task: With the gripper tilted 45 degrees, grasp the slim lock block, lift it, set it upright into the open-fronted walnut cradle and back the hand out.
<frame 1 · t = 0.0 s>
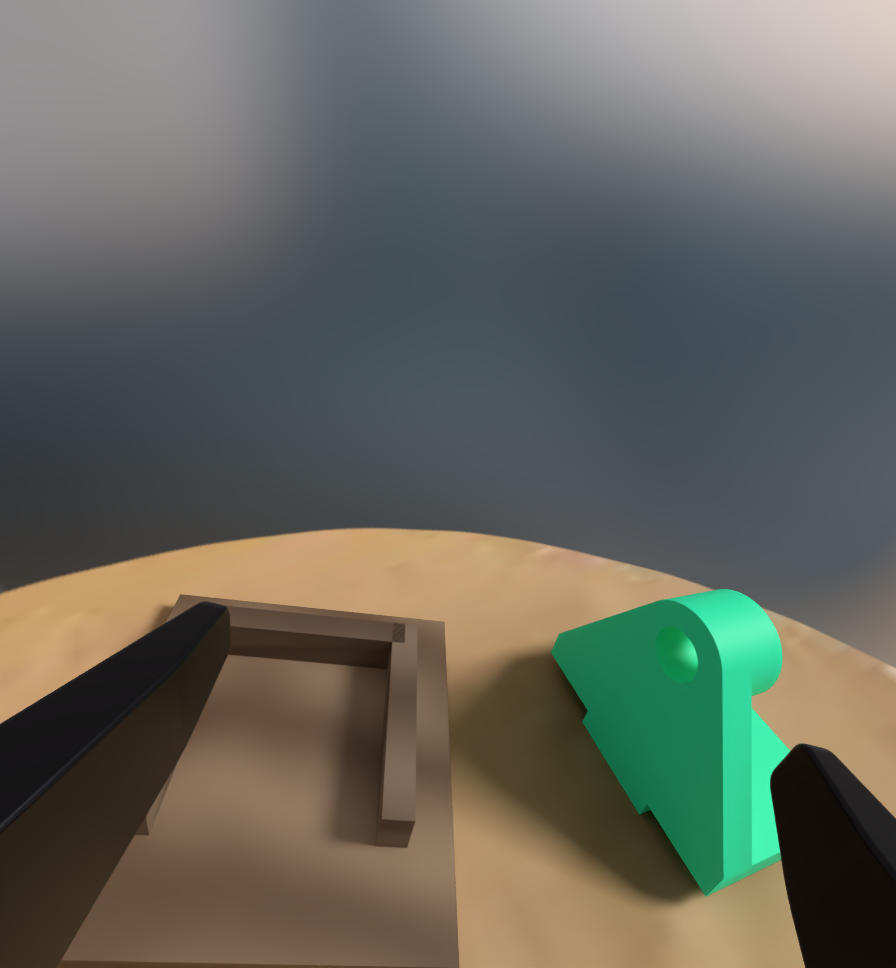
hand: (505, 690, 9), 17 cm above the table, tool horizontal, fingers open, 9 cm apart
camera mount: (665, 749, 28), on the table
cradle: (287, 751, 24), on the table
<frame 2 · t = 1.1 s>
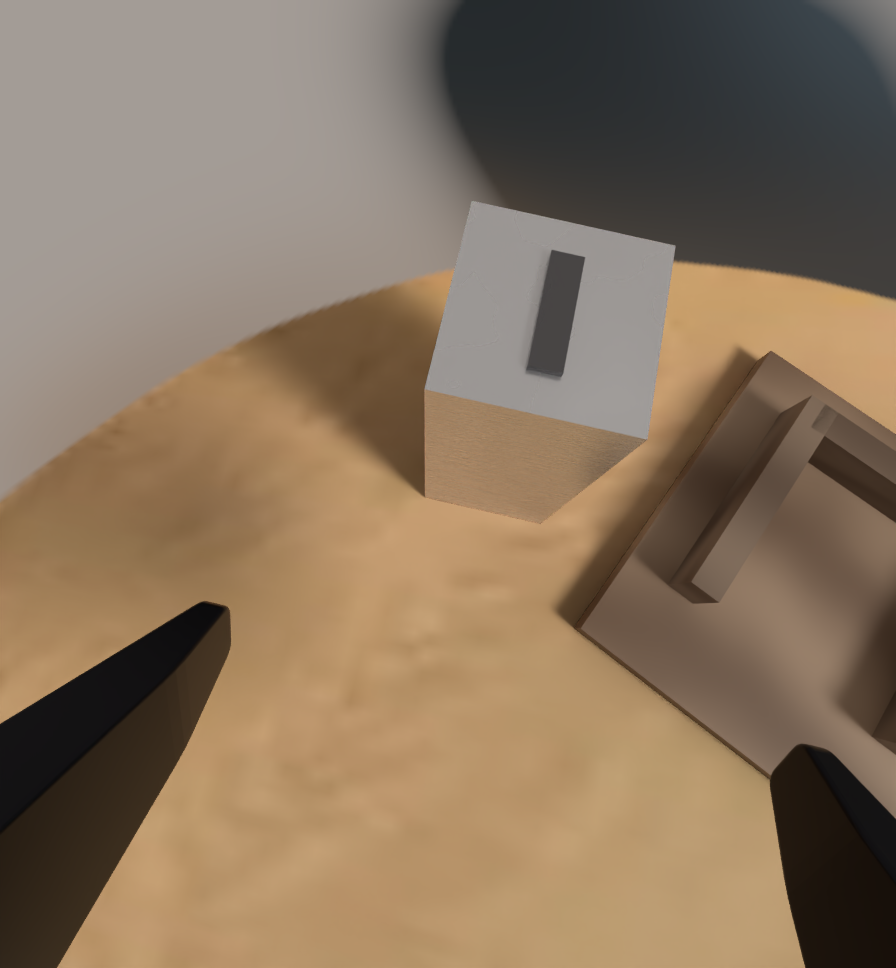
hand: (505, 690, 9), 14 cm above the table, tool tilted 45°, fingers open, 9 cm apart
lock block: (494, 455, 24), on the table
cradle: (811, 586, 23), on the table
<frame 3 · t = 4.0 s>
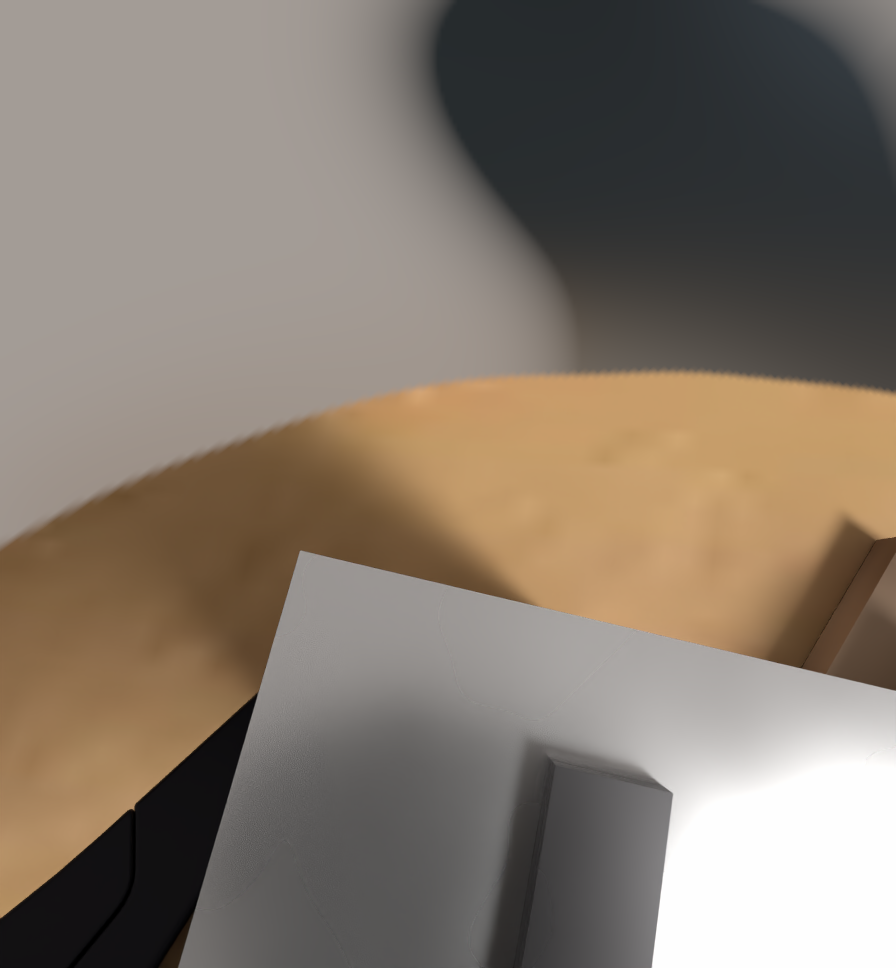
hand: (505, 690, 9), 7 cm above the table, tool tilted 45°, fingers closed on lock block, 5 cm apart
lock block: (460, 708, 15), on the table, touching gripper
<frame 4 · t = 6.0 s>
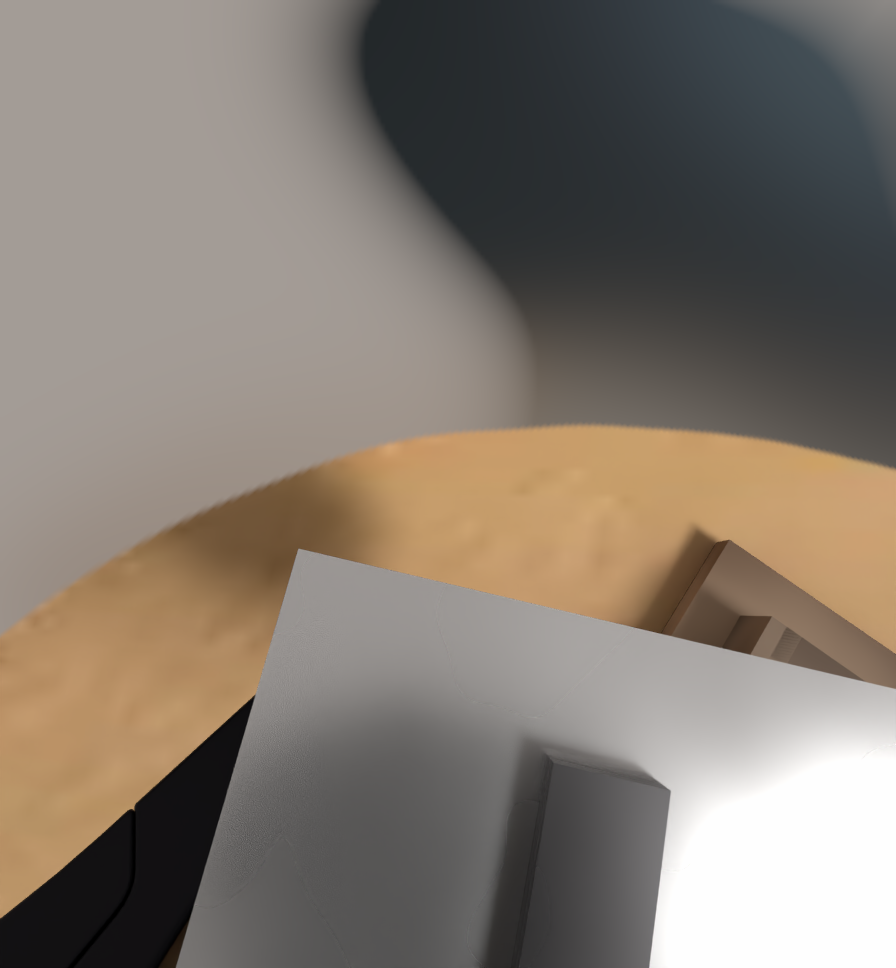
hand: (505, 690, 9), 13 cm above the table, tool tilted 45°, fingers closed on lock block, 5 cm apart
lock block: (459, 708, 15), point 7 cm above the table, touching gripper
cradle: (777, 814, 21), on the table
when the fingers open (9 cm above the table, at t = 8.3 s): lock block drops 1 cm, resting on cradle.
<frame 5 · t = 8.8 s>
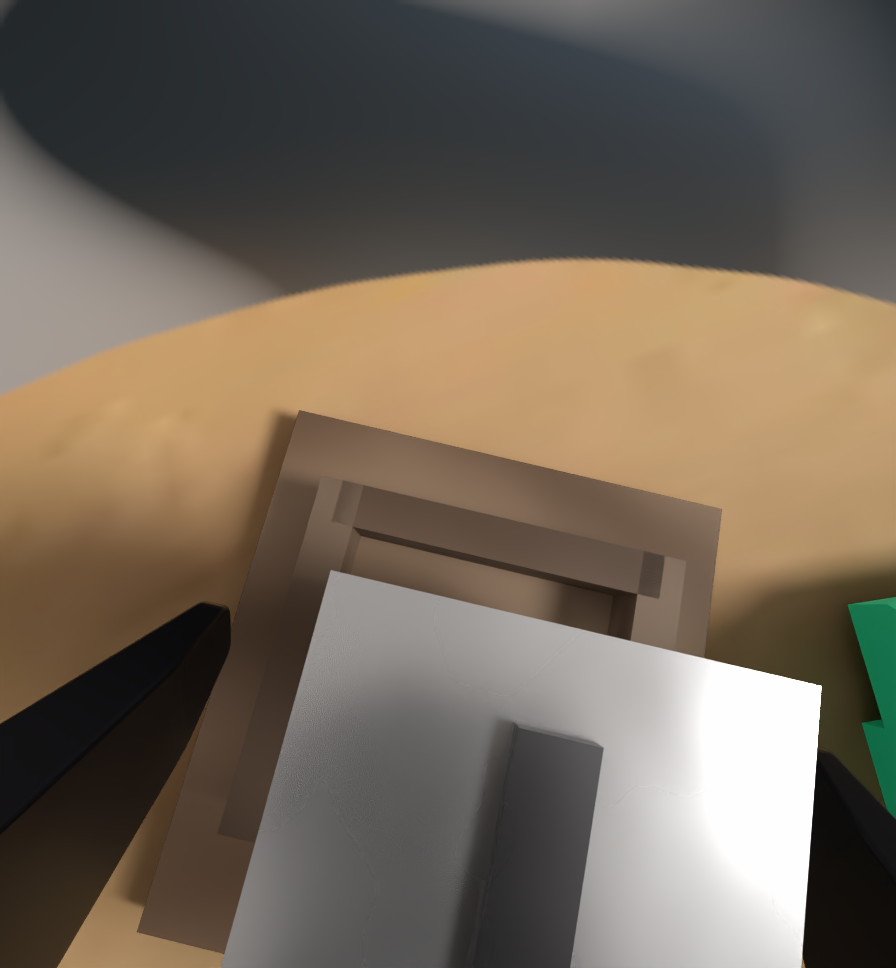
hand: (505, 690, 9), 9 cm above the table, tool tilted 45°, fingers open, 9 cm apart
lock block: (457, 700, 16), point 1 cm above the table, touching cradle
cradle: (456, 694, 17), on the table
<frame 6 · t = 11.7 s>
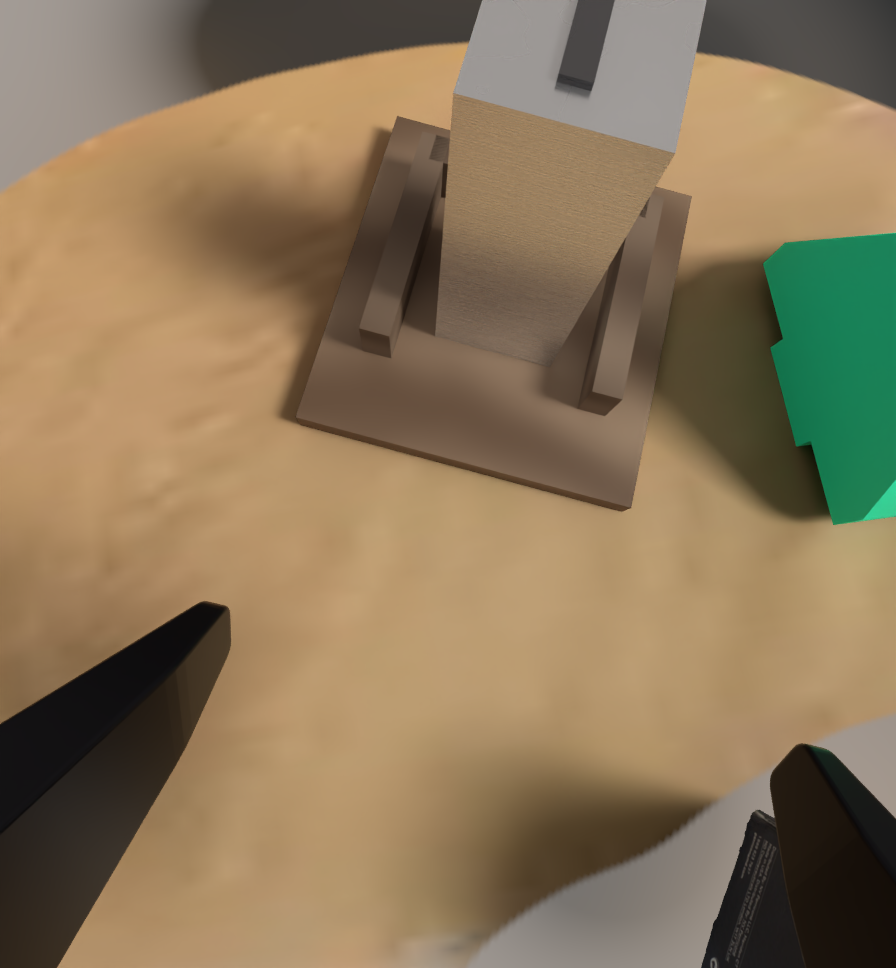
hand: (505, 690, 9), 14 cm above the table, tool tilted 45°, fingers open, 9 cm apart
small box: (845, 951, 21), on the table
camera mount: (855, 389, 25), on the table
lock block: (506, 299, 24), point 1 cm above the table, touching cradle
cradle: (503, 311, 25), on the table
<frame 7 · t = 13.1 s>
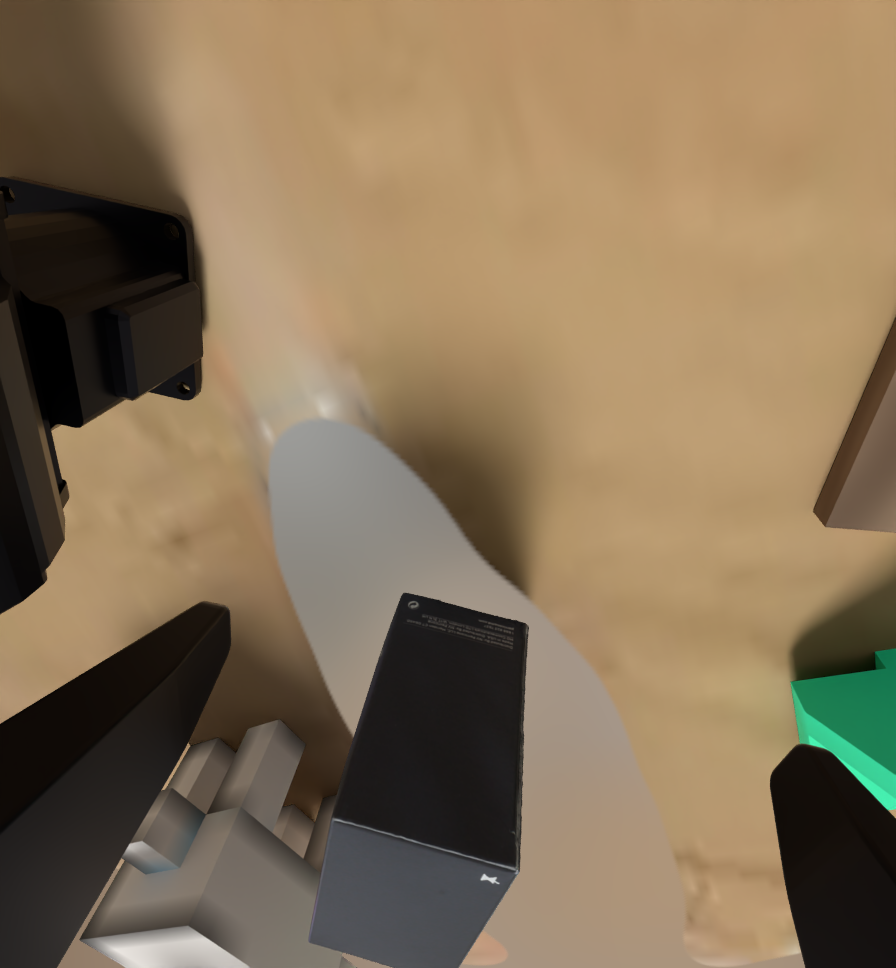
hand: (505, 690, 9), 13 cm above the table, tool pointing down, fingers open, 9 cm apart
small box: (441, 672, 28), on the table
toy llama: (297, 787, 36), on the table
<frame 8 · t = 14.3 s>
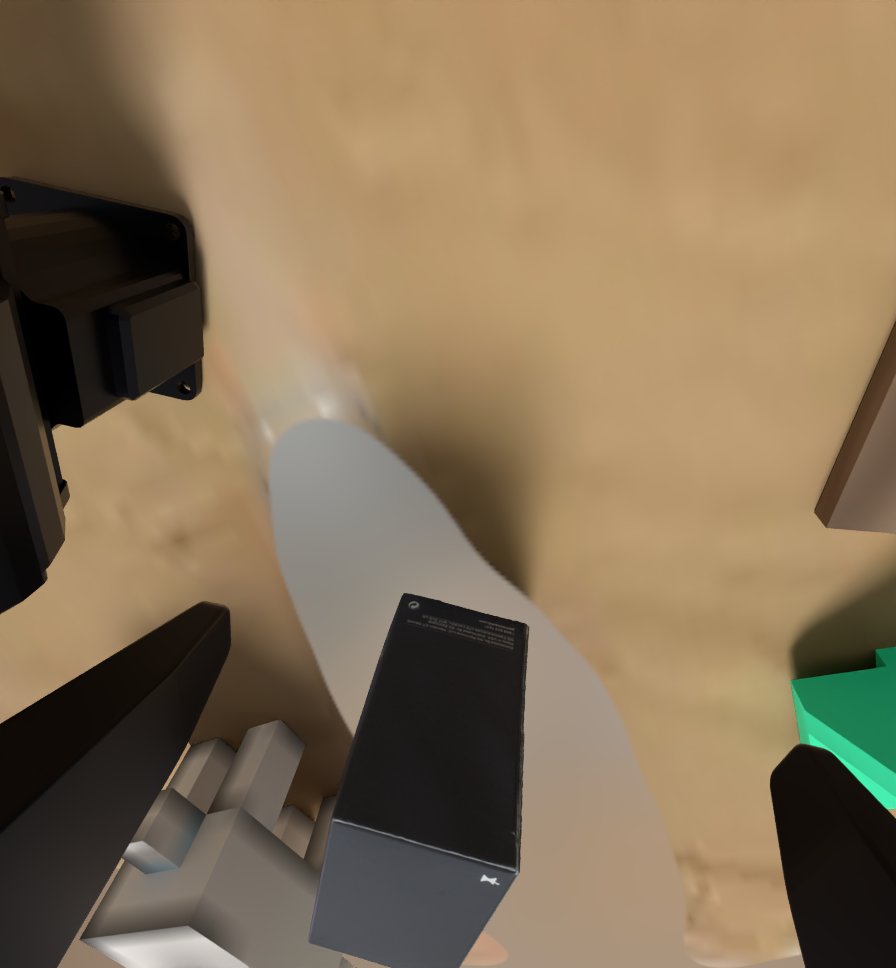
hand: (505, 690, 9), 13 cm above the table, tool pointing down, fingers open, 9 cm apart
small box: (441, 672, 28), on the table
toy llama: (297, 787, 36), on the table
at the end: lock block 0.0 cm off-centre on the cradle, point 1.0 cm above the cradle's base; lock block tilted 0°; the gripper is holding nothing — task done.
